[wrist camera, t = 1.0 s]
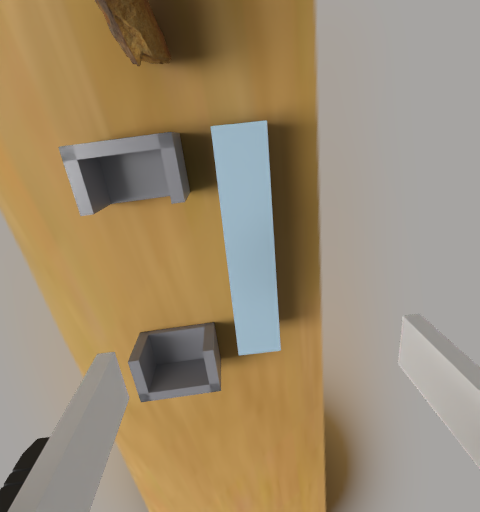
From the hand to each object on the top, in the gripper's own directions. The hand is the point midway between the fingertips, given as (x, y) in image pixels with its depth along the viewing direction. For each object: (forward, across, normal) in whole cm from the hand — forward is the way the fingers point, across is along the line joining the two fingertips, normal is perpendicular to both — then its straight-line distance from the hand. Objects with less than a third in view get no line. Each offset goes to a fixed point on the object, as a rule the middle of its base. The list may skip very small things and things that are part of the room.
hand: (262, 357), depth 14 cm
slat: (+17, +1, 0) cm, 17 cm away
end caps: (+17, -8, -2) cm, 19 cm away
